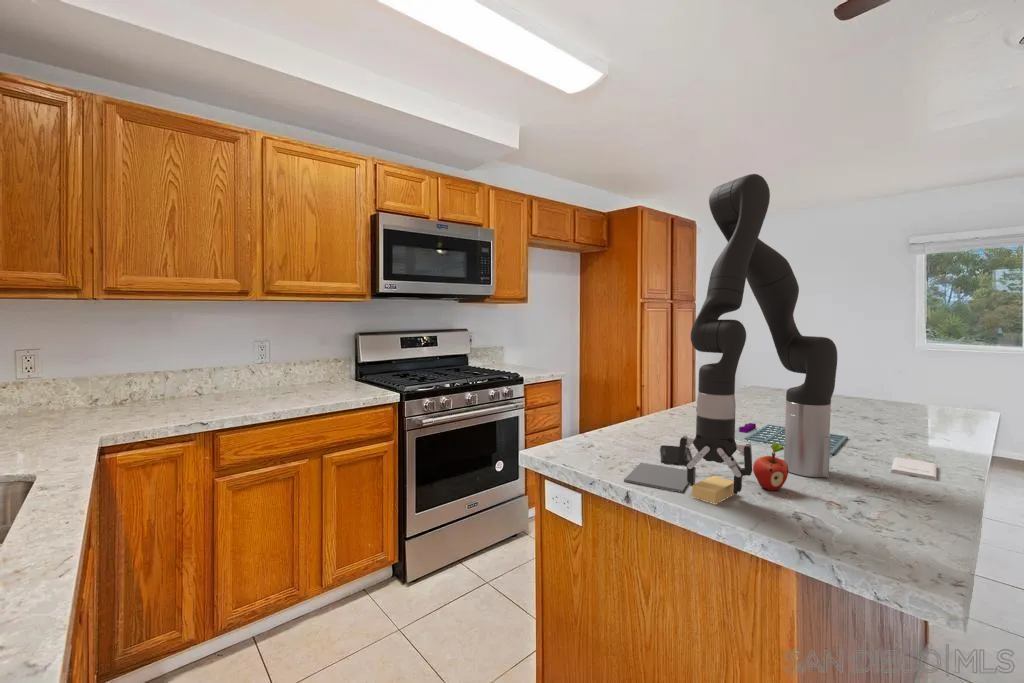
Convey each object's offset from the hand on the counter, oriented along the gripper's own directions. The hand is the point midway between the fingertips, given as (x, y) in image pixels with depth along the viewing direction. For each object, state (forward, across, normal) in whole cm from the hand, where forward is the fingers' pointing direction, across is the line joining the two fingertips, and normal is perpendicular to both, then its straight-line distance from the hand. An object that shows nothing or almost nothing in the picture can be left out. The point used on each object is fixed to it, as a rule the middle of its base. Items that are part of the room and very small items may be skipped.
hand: (713, 488), depth 99 cm
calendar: (+2, -12, -60) cm, 61 cm away
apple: (+2, -10, -11) cm, 15 cm away
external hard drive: (+2, -40, -43) cm, 59 cm away
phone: (+2, +13, -24) cm, 27 cm away
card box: (+2, 0, 0) cm, 2 cm away
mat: (+1, +12, -5) cm, 13 cm away
